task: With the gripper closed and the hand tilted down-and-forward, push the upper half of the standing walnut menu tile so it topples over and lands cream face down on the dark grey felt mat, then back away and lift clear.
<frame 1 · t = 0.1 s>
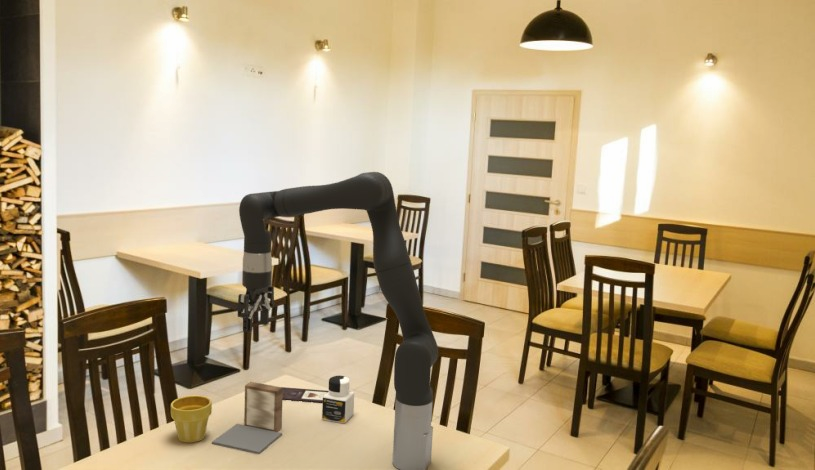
hand: (256, 328, 180), 29 cm above the table, tool pointing down, fingers open, 8 cm apart
plant pot: (191, 438, 179), on the table
felt mat: (247, 439, 179), on the table
walnut tile: (262, 427, 187), on the table
medicine bottle: (337, 417, 196), on the table
chocolate bar: (303, 397, 211), on the table
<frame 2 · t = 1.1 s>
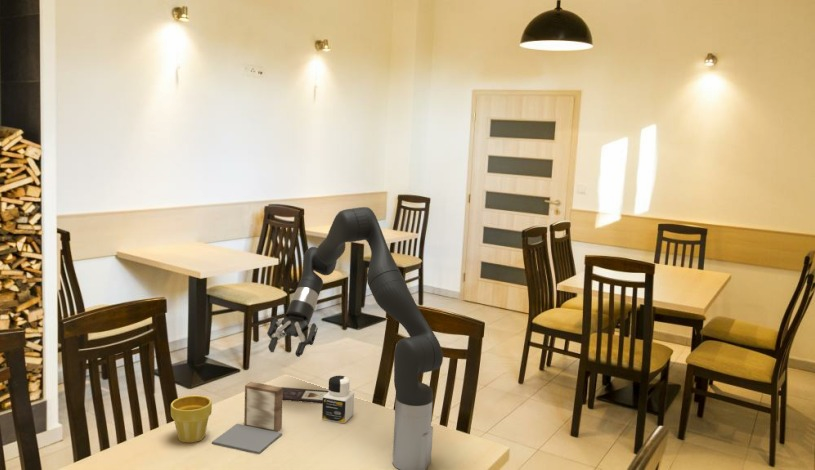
hand: (284, 353, 196), 18 cm above the table, tool tilted 45°, fingers open, 8 cm apart
nothing on the table moved.
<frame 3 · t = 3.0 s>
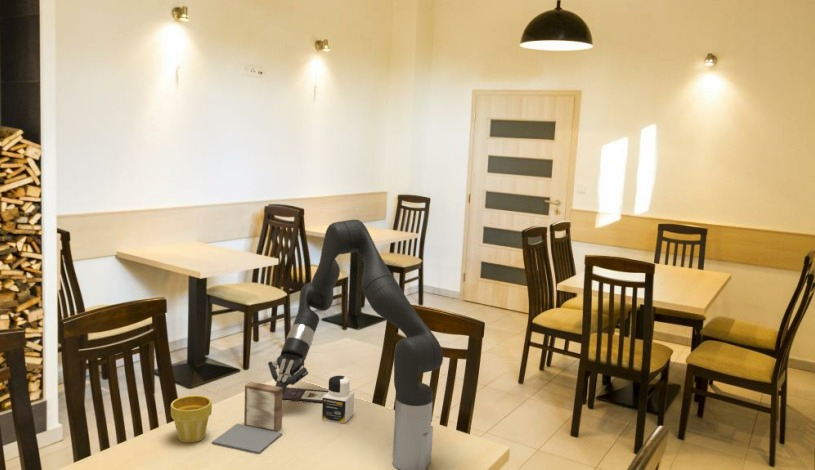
hand: (277, 395, 193), 6 cm above the table, tool tilted 45°, fingers closed
nothing on the table moved.
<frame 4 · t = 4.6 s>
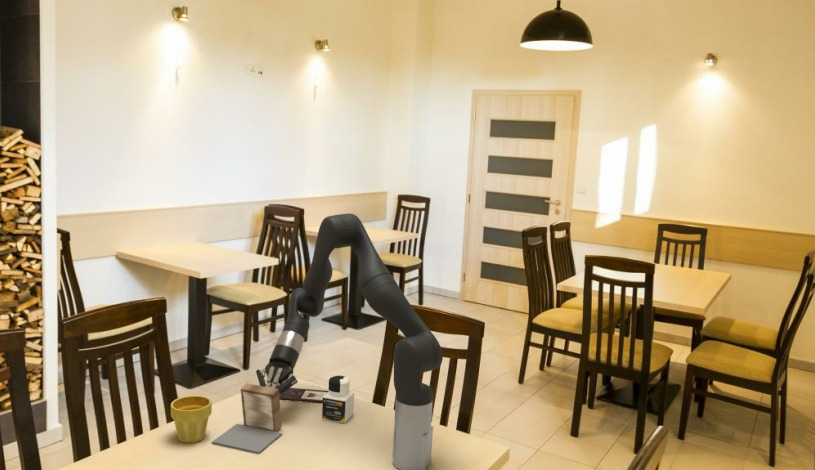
hand: (265, 404, 187), 6 cm above the table, tool tilted 45°, fingers closed
walnut tile: (262, 426, 187), on the table, tilted 11°
everything else where it was.
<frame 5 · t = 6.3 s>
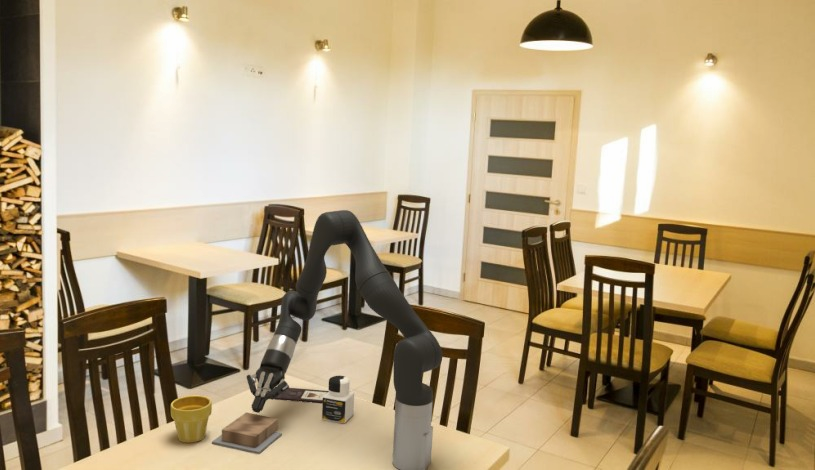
hand: (255, 411, 182), 6 cm above the table, tool tilted 45°, fingers closed
walnut tile: (261, 420, 186), point 2 cm above the table, tilted 90°, touching felt mat
everything else where it was.
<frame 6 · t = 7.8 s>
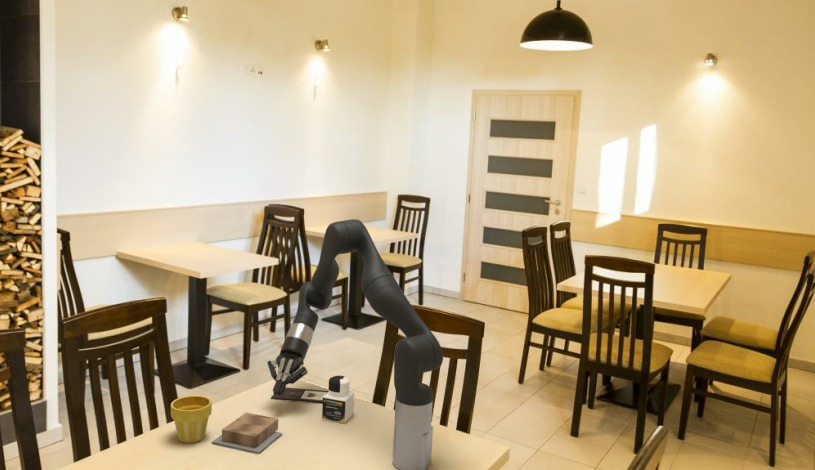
hand: (276, 394, 193), 7 cm above the table, tool tilted 45°, fingers closed
nothing on the table moved.
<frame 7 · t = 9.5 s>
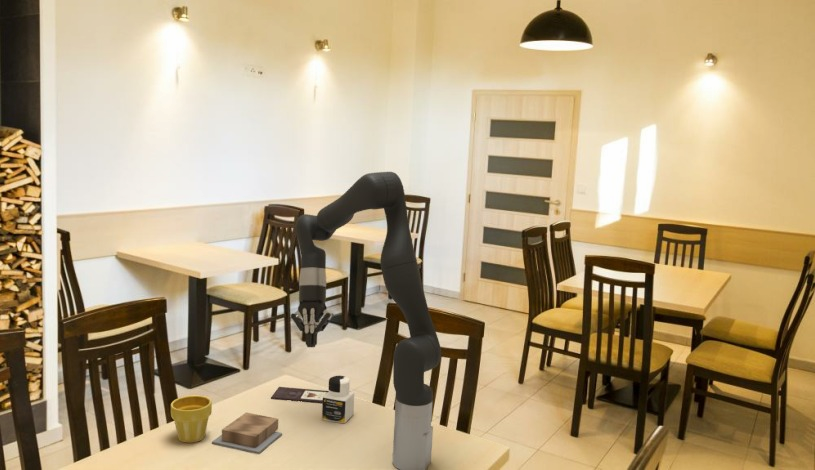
hand: (311, 347, 187), 23 cm above the table, tool tilted 20°, fingers closed
nothing on the table moved.
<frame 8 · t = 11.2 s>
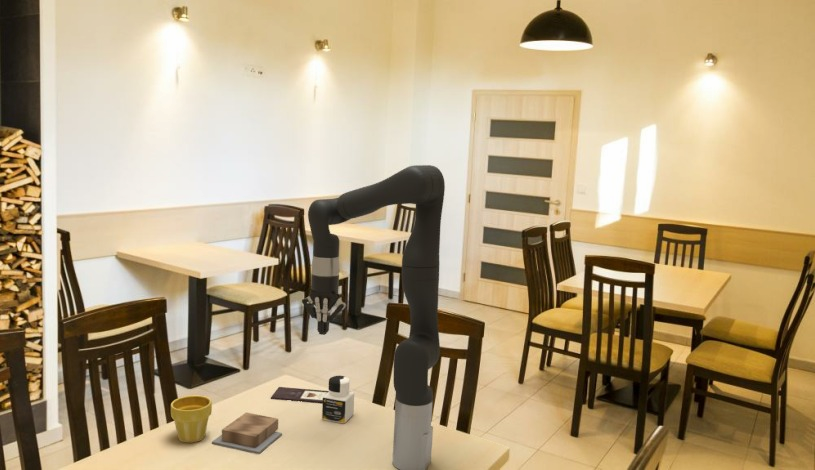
hand: (323, 333, 185), 27 cm above the table, tool pointing down, fingers closed
nothing on the table moved.
at the end: walnut tile tilted 90°; walnut tile touching felt mat; walnut tile inside the target area (1.9 cm from its centre), point 2.2 cm above the table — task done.
